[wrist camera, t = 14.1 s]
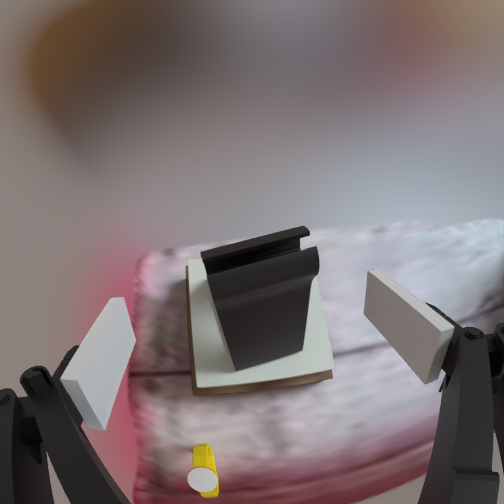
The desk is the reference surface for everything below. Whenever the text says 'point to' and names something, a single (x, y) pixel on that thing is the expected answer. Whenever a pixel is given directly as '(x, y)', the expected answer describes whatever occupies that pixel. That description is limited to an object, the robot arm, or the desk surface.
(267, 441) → the desk surface
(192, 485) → the watch
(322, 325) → the upper block
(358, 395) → the desk surface
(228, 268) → the phone stand
